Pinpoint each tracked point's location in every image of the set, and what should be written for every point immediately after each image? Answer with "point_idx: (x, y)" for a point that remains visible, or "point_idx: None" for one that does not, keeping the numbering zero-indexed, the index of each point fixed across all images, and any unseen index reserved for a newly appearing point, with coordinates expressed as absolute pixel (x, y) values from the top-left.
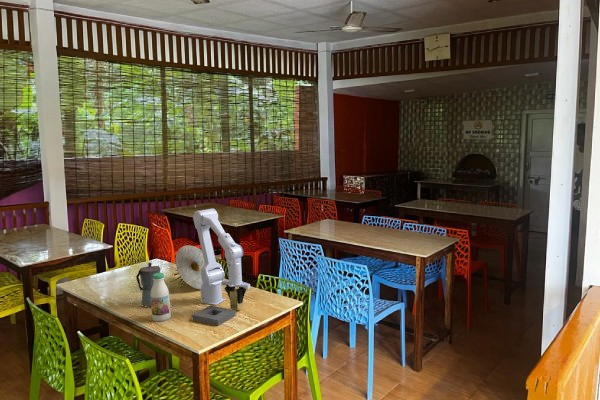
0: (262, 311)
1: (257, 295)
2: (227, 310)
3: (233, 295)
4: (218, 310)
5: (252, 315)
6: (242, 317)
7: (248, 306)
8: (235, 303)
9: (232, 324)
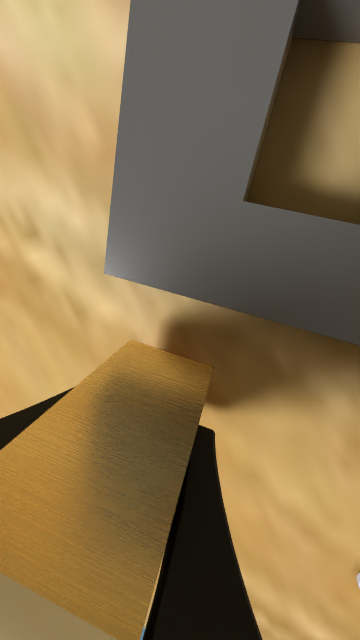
0: (5, 370)
1: (154, 590)
2: (188, 248)
3: (80, 478)
4: (319, 218)
5: (21, 296)
6: (64, 242)
7: None
8: (122, 377)
9: (59, 33)
